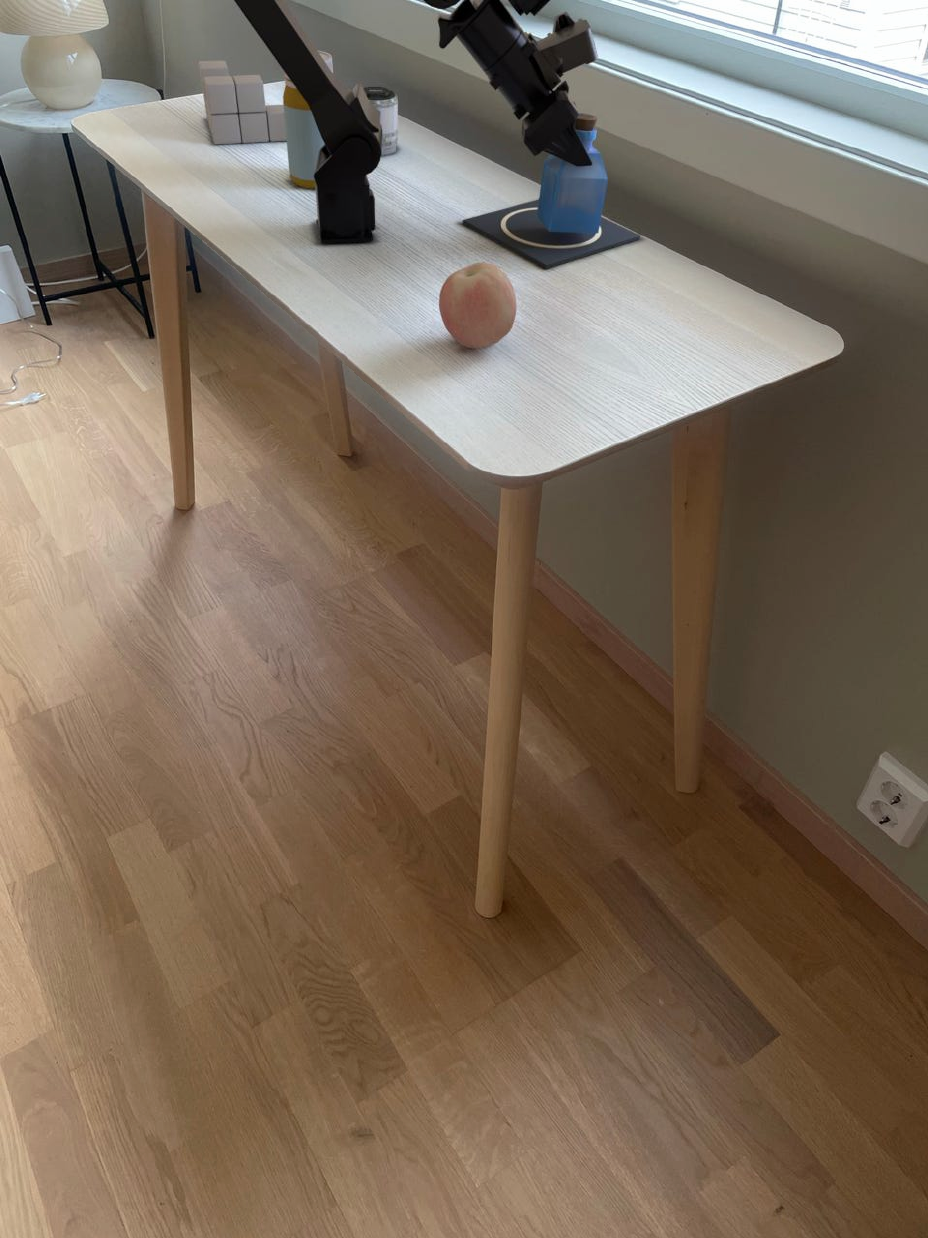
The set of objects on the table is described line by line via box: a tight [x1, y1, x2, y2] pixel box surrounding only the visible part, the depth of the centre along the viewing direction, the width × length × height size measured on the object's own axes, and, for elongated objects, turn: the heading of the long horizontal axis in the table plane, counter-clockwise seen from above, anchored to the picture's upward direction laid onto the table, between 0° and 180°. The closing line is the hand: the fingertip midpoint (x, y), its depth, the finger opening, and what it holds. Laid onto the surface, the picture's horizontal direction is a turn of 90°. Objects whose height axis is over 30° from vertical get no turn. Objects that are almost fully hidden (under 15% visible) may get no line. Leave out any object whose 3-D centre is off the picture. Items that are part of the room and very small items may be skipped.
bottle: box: [282, 50, 334, 190], centre depth 121 cm, size 7×7×15 cm
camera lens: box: [363, 86, 399, 156], centre depth 134 cm, size 6×6×8 cm
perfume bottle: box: [537, 112, 609, 233], centre depth 110 cm, size 6×6×12 cm
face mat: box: [462, 199, 641, 270], centre depth 117 cm, size 16×16×1 cm
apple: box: [438, 261, 517, 350], centre depth 93 cm, size 8×8×8 cm
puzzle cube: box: [198, 60, 287, 145], centre depth 138 cm, size 12×12×8 cm
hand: (586, 160), depth 110 cm, fingers closed on perfume bottle, 4 cm apart
